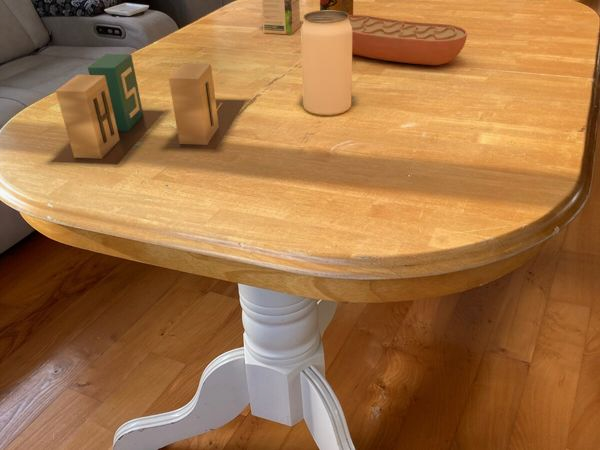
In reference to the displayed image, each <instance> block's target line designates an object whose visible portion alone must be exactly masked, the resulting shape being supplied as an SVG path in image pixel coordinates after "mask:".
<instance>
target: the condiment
mask: <svg viewBox="0 0 600 450" xmlns="http://www.w3.org/2000/svg"><path fill="white" fill-rule="evenodd" d="M321 10H336V11H342V12H346V13H348V14H349V15H354V0H319V11H321Z"/></svg>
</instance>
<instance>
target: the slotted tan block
mask: <svg viewBox="0 0 600 450" xmlns="http://www.w3.org/2000/svg"><path fill="white" fill-rule="evenodd" d="M212 69H213V68H212V63H199V62H198V63H193V62H191V63H188V62H183V63H182V64H181V65H180V66H178V68H177V69H176V70H175V71H174V72H173V73H172V74H171V75H170V76H169V77H168V82H169V88H170V94H171V100H172V107H173V111H174V119H175V124H176V130H177V131H176V132H177V133H176V134H175V135H174V137H173V138H172V139H171V141H170V142H169V143H168V145H167V146H166V149H182V150H208V151H209V150H210V151H213V150H214V151H216V150H217V148H218V147H219V145H221V144H220V143H222V140H223V139H224V137H225V136H226V134H227V133H228V131H229V129H230V127H231V126H232V125H233V123H234V122H235V120H236V118H237V116H238V114H239V113H240V111H241V110H242V108H243V107H244V105H245V103H246V101H247V100H245V99H240V100H239V99H216V93H215V86H214V77H213V70H212Z"/></svg>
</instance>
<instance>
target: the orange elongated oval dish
mask: <svg viewBox="0 0 600 450" xmlns="http://www.w3.org/2000/svg"><path fill="white" fill-rule="evenodd" d="M348 19H349V22H350V24H351V26H352V55H355V56H359V57H364V58H369V59H374V60H381V61H387V62H394V63H401V64H402V63H404V64H413V65H425V66H440V65H445V64H447V63H450V62H451V61H453V60H454V59H455V58H456V57H457V56H458V55H459V54H460V53H461V52H462V50H463V49H464V47H465V45H466V41H467V37H468V31H467V30H466V29H465V28H463V27H461V26H458V25H453V24H445V23H431V22H418V21H408V20H399V19H393V18H392V19H391V18H384V17H380V16H379V17H377V16H372V15H367V14H366V15H364V14H353V15H349V18H348Z"/></svg>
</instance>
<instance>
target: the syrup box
mask: <svg viewBox="0 0 600 450" xmlns="http://www.w3.org/2000/svg"><path fill="white" fill-rule="evenodd" d="M260 2H261V17H262V19H261V20H262V32H263V34H277V35H288V36H289V35H290V36H292V34H293V33H295V32H296V31H297V30H298V29H299V28H301V13H300V12H301V11H300V9H301V8H300V0H261V1H260Z"/></svg>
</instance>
